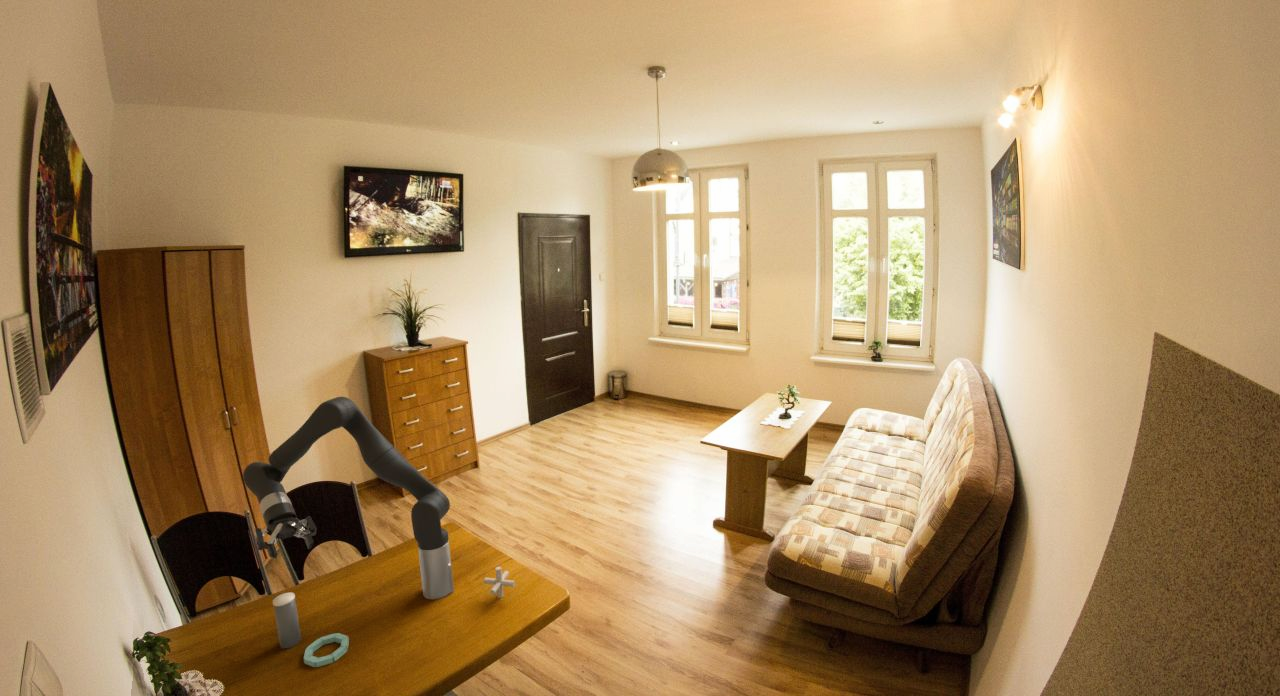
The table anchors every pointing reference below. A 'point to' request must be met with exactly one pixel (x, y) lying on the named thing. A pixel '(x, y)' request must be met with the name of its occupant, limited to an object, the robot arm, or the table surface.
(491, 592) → the pipe connector
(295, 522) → the robot arm
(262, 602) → the table surface
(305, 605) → the table surface
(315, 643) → the barrel ring
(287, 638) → the cap cylinder
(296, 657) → the table surface
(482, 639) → the table surface
